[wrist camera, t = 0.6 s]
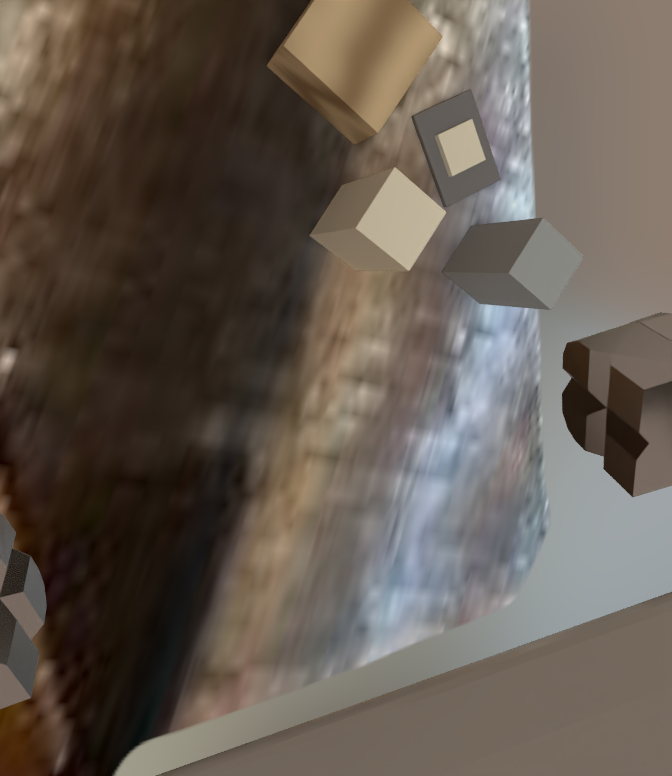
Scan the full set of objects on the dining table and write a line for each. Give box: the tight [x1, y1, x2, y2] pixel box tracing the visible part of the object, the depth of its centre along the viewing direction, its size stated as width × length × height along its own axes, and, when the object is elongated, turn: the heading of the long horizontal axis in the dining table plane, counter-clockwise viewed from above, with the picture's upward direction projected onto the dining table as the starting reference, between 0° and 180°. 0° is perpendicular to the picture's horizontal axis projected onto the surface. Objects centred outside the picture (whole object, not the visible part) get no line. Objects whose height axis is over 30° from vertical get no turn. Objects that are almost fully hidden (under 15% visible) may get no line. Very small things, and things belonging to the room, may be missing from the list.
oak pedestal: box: [266, 0, 442, 145], centre depth 48 cm, size 9×9×5 cm
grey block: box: [442, 218, 584, 310], centre depth 53 cm, size 5×5×10 cm
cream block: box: [309, 167, 446, 271], centre depth 49 cm, size 5×5×10 cm
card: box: [412, 90, 501, 207], centre depth 55 cm, size 8×6×1 cm
